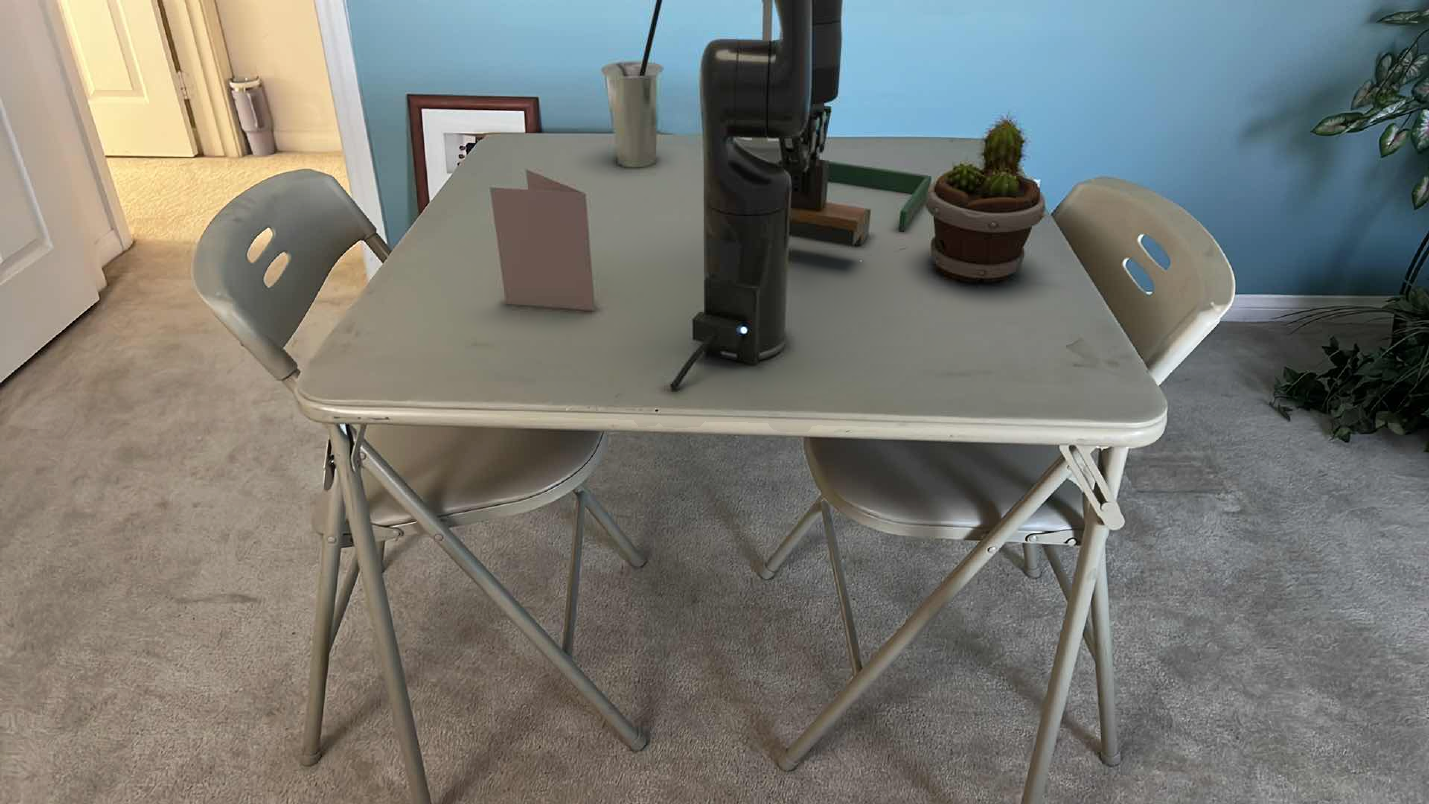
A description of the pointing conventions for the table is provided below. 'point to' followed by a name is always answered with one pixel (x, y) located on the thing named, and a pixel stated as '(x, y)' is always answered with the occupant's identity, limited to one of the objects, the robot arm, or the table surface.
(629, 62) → the glass
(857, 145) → the table surface
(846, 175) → the frame
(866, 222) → the cube
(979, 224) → the flowerpot
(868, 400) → the table surface
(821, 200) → the hand brush
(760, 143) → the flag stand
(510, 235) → the greeting card
